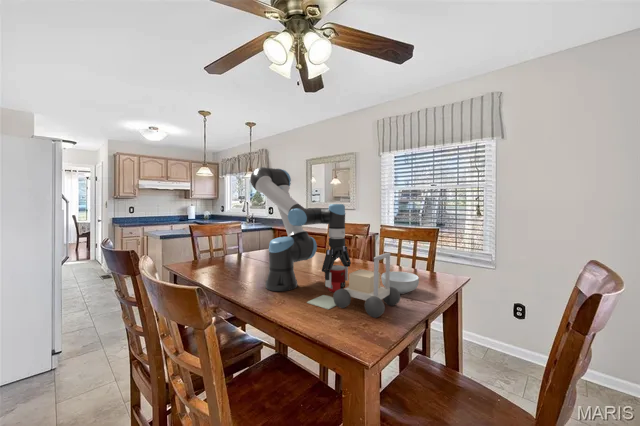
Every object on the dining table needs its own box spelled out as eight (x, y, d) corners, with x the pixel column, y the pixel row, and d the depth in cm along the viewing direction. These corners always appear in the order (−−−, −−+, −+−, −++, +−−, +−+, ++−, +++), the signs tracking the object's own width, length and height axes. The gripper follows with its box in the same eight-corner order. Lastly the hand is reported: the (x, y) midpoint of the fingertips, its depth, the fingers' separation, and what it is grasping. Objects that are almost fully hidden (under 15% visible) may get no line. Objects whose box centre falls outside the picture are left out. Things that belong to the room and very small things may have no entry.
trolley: (333, 305, 110) (333, 252, 109) (354, 294, 123) (355, 246, 122) (382, 319, 97) (383, 259, 96) (400, 305, 110) (401, 252, 109)
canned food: (344, 293, 124) (344, 269, 123) (326, 292, 126) (326, 268, 125) (346, 288, 131) (346, 265, 131) (329, 287, 133) (329, 264, 133)
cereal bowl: (381, 284, 139) (381, 270, 138) (415, 286, 135) (416, 272, 135) (381, 295, 122) (381, 279, 122) (421, 298, 119) (421, 282, 118)
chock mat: (306, 302, 113) (306, 301, 113) (323, 295, 121) (323, 294, 121) (328, 309, 106) (328, 308, 106) (344, 301, 115) (344, 300, 115)
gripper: (327, 241, 115) (327, 291, 116) (357, 235, 135) (357, 278, 136) (313, 239, 120) (313, 288, 121) (344, 234, 139) (344, 276, 140)
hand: (337, 283), depth 128 cm, fingers open, 13 cm apart
